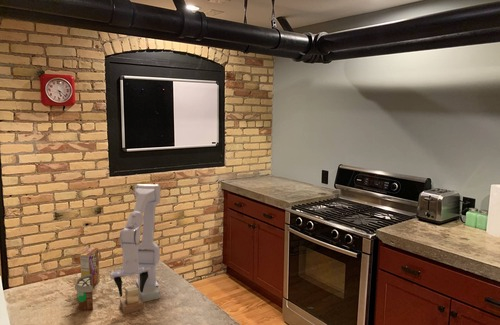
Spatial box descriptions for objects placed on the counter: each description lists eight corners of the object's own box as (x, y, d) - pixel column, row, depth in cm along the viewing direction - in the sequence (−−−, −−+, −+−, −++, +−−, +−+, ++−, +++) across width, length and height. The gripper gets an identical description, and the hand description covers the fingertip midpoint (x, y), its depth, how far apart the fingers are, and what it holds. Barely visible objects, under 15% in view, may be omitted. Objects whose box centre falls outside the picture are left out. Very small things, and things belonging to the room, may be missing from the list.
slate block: (138, 295, 155) (137, 288, 154) (154, 291, 158) (154, 284, 158) (142, 302, 149) (142, 295, 148) (159, 298, 152) (159, 291, 152)
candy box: (90, 280, 167) (89, 247, 165) (100, 280, 167) (99, 247, 165) (80, 289, 158) (79, 254, 156) (90, 289, 158) (89, 255, 156)
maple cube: (125, 299, 145) (125, 287, 145) (136, 297, 147) (135, 284, 147) (127, 304, 142) (127, 291, 141) (138, 301, 144) (138, 289, 143)
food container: (75, 299, 149) (74, 275, 148) (92, 297, 152) (91, 273, 151) (75, 315, 138) (74, 289, 137) (93, 312, 141) (92, 286, 139)
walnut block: (120, 306, 146) (119, 299, 145) (138, 302, 149) (138, 294, 149) (124, 314, 140) (124, 307, 139) (143, 309, 143) (143, 302, 143)
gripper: (111, 266, 135) (112, 301, 137) (152, 259, 142) (152, 293, 144) (109, 259, 141) (110, 293, 143) (148, 253, 148) (148, 286, 150)
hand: (131, 293), depth 144 cm, fingers open, 7 cm apart
